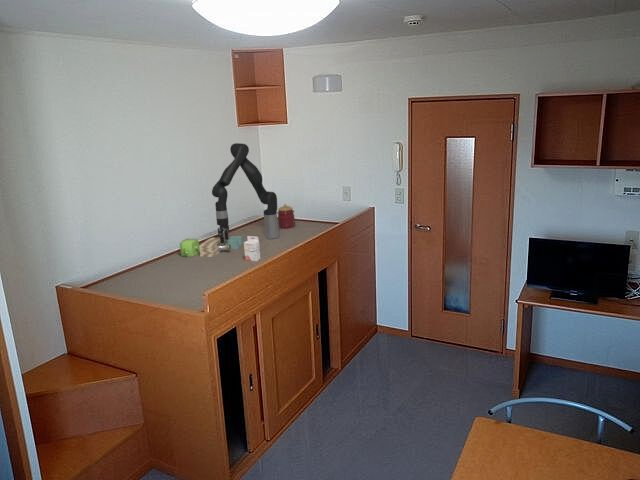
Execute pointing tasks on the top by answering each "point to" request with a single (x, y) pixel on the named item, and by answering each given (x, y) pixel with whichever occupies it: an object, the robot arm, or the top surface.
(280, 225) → the canister
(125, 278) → the top surface
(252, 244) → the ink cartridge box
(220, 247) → the axle
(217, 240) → the beam
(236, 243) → the v block
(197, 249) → the green cube pot
